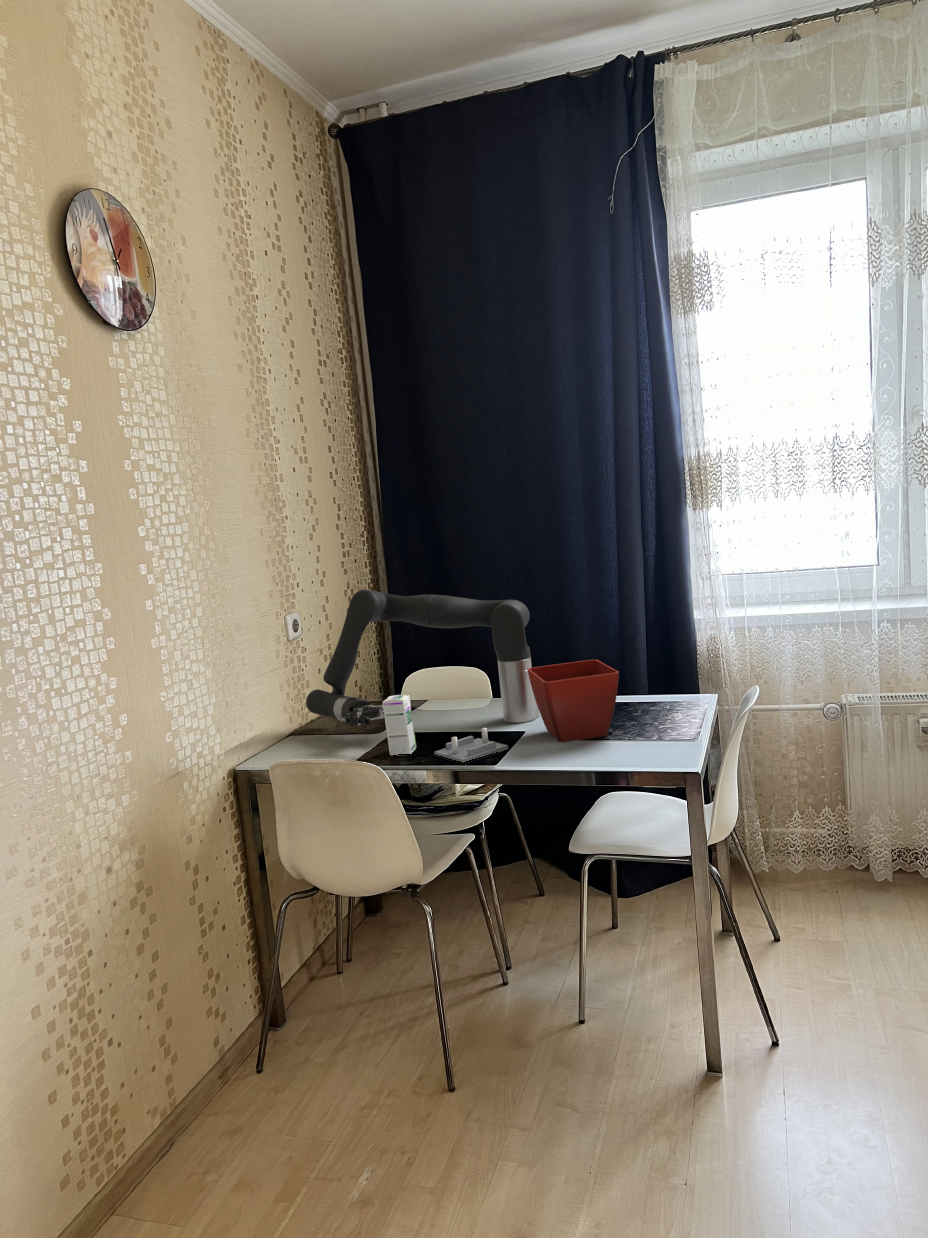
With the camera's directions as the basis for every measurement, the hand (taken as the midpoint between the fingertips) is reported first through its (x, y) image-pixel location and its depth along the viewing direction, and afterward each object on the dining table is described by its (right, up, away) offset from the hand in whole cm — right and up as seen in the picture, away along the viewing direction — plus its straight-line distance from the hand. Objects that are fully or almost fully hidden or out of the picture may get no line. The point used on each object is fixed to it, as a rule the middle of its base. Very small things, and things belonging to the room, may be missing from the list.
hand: (383, 718), depth 238 cm
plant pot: (+50, -4, -6) cm, 51 cm away
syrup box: (+6, -8, -5) cm, 11 cm away
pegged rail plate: (+23, -7, -12) cm, 27 cm away
